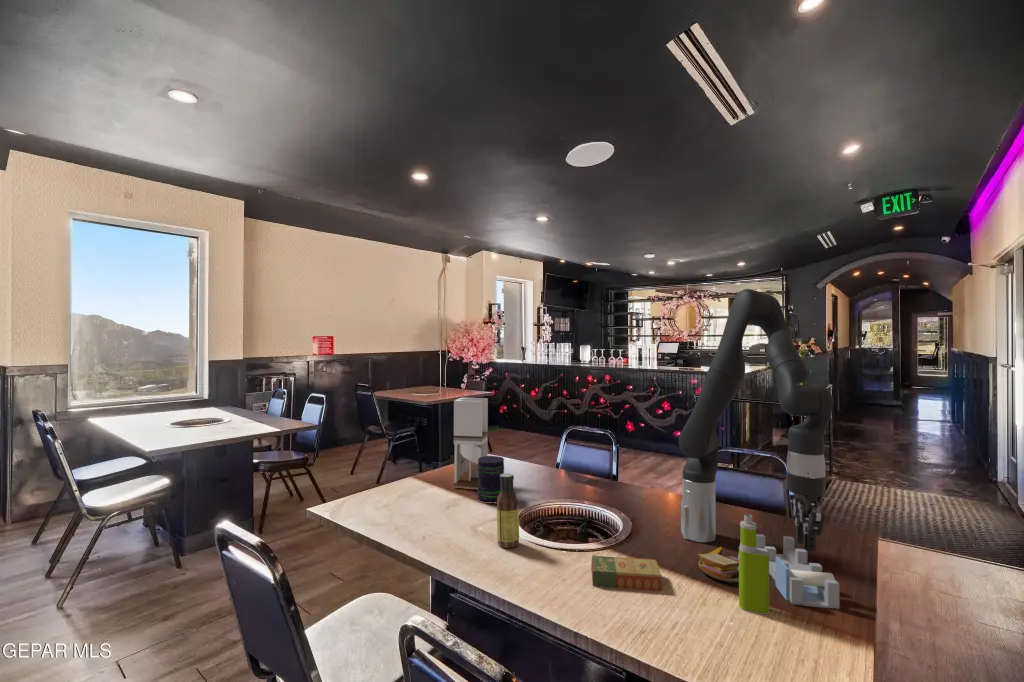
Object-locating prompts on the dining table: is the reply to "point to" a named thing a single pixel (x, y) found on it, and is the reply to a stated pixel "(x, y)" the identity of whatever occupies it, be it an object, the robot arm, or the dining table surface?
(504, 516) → the sauce bottle
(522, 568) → the dining table surface
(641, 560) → the carton
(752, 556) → the vape
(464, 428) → the white boxy tower
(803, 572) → the cream cylindrical rod
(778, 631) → the dining table surface
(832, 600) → the white peg rack
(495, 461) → the storage jar
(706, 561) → the toy sandwich meal
